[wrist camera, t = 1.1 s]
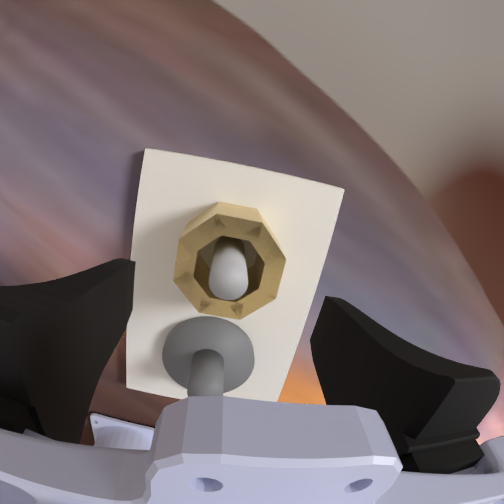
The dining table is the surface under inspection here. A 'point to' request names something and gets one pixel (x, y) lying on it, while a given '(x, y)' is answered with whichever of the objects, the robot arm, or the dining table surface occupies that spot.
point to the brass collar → (259, 275)
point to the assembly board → (159, 249)
